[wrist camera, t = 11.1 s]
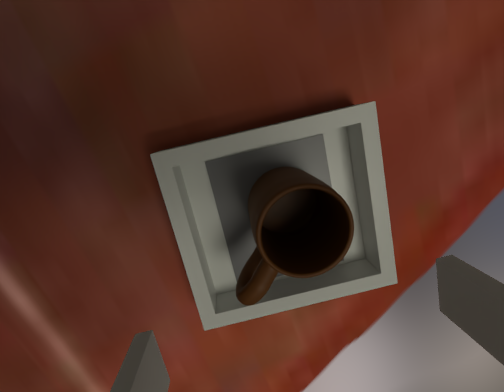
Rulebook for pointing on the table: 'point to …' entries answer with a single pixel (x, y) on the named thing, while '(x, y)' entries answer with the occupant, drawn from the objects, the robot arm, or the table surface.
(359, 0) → the table surface
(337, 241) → the mug
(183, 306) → the table surface
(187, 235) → the tray
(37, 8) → the table surface
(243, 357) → the table surface
